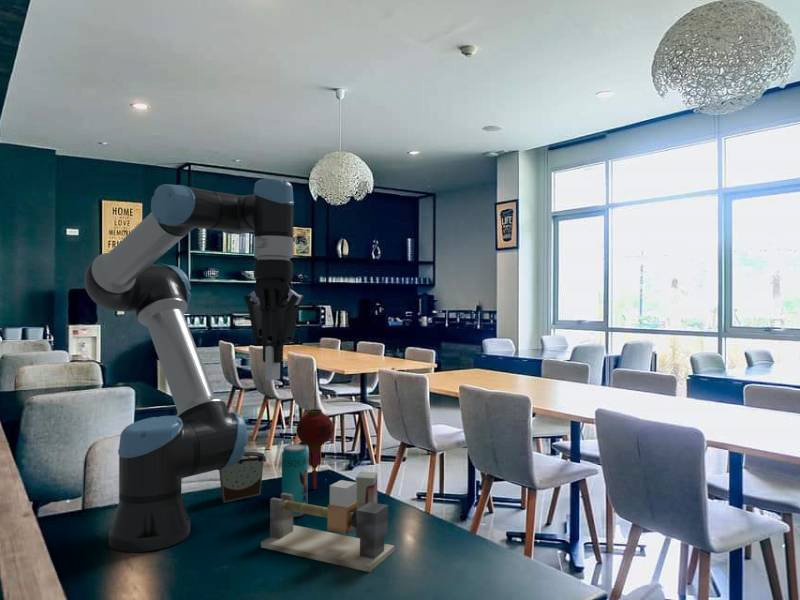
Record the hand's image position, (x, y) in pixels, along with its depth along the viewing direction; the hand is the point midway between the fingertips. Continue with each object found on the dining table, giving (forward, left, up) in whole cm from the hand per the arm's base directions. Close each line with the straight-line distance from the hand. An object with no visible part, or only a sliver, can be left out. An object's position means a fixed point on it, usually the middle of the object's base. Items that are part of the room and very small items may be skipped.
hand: (272, 379), depth 117 cm
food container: (-26, +20, -33) cm, 46 cm away
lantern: (-12, +33, -33) cm, 48 cm away
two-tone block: (+15, +3, -28) cm, 31 cm away
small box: (+7, +26, -33) cm, 42 cm away
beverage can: (-6, +16, -33) cm, 37 cm away
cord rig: (+11, +3, -32) cm, 34 cm away
